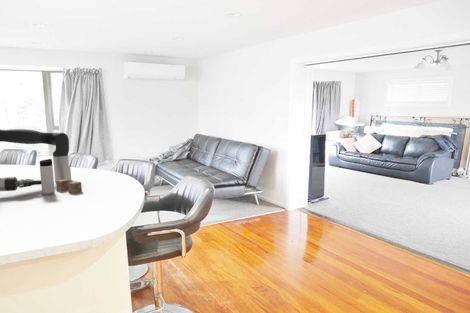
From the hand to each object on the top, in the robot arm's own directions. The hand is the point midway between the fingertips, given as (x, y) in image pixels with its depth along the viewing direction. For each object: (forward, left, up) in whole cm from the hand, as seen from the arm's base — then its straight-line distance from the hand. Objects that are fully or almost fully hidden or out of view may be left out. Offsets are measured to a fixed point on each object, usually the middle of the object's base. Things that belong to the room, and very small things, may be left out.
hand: (41, 182), depth 185 cm
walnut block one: (-12, +12, -7) cm, 19 cm away
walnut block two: (-12, 0, -7) cm, 14 cm away
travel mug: (-2, +2, -7) cm, 8 cm away
